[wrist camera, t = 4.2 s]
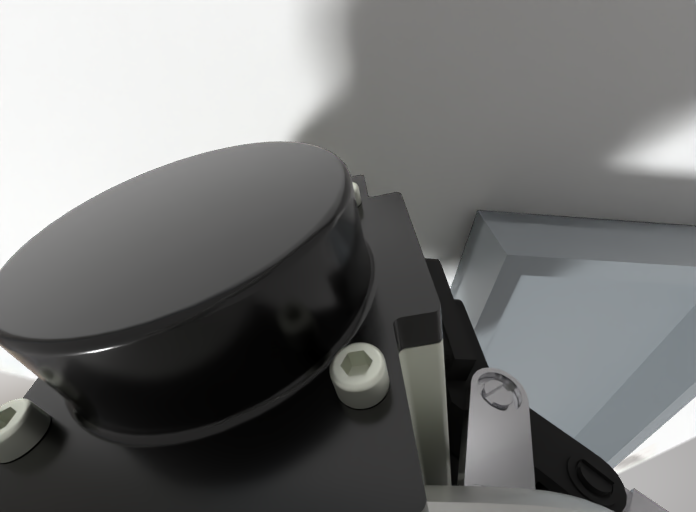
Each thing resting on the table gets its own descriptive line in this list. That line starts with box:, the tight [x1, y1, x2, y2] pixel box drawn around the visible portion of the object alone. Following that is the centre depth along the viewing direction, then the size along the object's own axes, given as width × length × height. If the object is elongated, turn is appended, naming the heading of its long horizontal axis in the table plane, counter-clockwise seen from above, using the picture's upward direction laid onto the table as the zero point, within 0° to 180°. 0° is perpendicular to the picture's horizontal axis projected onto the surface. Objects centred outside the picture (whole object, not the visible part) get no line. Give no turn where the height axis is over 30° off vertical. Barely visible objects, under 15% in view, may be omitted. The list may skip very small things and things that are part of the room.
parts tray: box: [450, 210, 696, 469], centre depth 19 cm, size 20×12×3 cm, turn 175°
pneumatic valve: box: [0, 141, 452, 512], centre depth 9 cm, size 6×12×12 cm, turn 11°
